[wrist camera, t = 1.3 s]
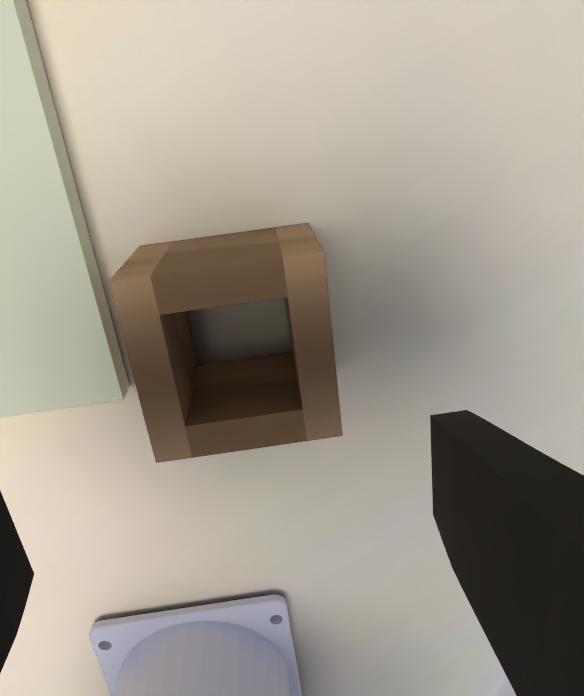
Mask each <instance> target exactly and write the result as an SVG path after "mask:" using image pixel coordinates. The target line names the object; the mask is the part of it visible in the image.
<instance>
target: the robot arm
mask: <svg viewBox="0 0 584 696" xmlns="http://www.w3.org/2000/svg"><path fill="white" fill-rule="evenodd" d="M430 420H431V456H432V491H433V515H434V518H435V521H436V524H437V527H438V529H439V532H440V535H441V538H442V541H443V544H444V546H445V549H446V552H447V554H448V557H449V560H450V563H451V565H452V568H453V570H454V572H455V574H456V576H457V578H458V580H459V582H460V585H461V587H462V589H463V591H464V593H465V595H466V597H467V599H468V601H469V603H470V605H471V607H472V609H473V611H474V613H475V615H476V616H477V618H478V620H479V622H480V624H481V626H482V628H483V630H484V632H485V634H486V636H487V638H488V640H489V642H490V644H491V646H492V648H493V650H494V652H495V654H496V656H497V658H498V660H499V662H500V664H501V666H502V668H503V670H504V672H505V674H506V676H507V678H508V679H509V681H510V683H511V685H512V687H513V689H514V691H515V693H516V695H517V696H584V476H583V475H581V474H580V473H578V472H576V471H574V470H572V469H570V468H569V467H567V466H565V465H563V464H561V463H559V462H558V461H556V460H554V459H552V458H550V457H549V456H547V455H545V454H543V453H542V452H540V451H538V450H536V449H535V448H533V447H531V446H529V445H528V444H526V443H524V442H523V441H521V440H519V439H517V438H516V437H514V436H512V435H510V434H509V433H507V432H505V431H504V430H502V429H500V428H498V427H497V426H495V425H493V424H492V423H490V422H488V421H486V420H485V419H483V418H481V417H479V416H477V415H475V414H474V413H472V412H470V411H468V410H464V411H457V412H450V413H443V414H436V415H430ZM33 576H34V572H33V570H32V567H31V565H30V562H29V560H28V558H27V555H26V553H25V550H24V548H23V545H22V543H21V540H20V538H19V535H18V533H17V531H16V528H15V526H14V523H13V521H12V518H11V516H10V513H9V511H8V508H7V506H6V503H5V501H4V499H3V496H2V494H1V491H0V673H1V670H2V668H3V666H4V663H5V661H6V659H7V656H8V654H9V652H10V649H11V647H12V644H13V642H14V640H15V637H16V635H17V632H18V628H19V625H20V622H21V619H22V615H23V612H24V609H25V606H26V602H27V598H28V594H29V591H30V587H31V583H32V580H33ZM274 615H279V616H274ZM89 636H90V640H91V643H92V645H93V648H94V651H95V653H96V656H97V659H98V661H99V664H100V667H101V669H102V672H103V675H104V677H105V680H106V683H107V685H108V688H109V690H110V693H111V696H302V691H301V685H300V679H299V673H298V667H297V662H296V656H295V650H294V644H293V638H292V632H291V627H290V621H289V615H288V609H287V603H286V600H285V598H283V597H282V596H280V595H267V596H260V597H254V598H247V599H240V600H234V601H227V602H220V603H214V604H207V605H201V606H194V607H187V608H181V609H174V610H167V611H161V612H154V613H147V614H141V615H134V616H127V617H121V618H114V619H108V620H101V621H98V622H96V623H94V624H93V625H92V627H91V630H90V634H89ZM105 641H108V642H105Z"/></svg>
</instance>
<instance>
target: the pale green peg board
mask: <svg viewBox="0 0 584 696" xmlns="http://www.w3.org/2000/svg"><path fill="white" fill-rule="evenodd" d="M128 388H129V382H128V378H127V375H126V371H125V367H124V363H123V360H122V356H121V352H120V349H119V345H118V341H117V337H116V334H115V330H114V326H113V322H112V319H111V315H110V311H109V307H108V304H107V300H106V296H105V292H104V289H103V285H102V281H101V278H100V274H99V270H98V266H97V263H96V259H95V255H94V251H93V248H92V244H91V240H90V236H89V233H88V229H87V225H86V222H85V218H84V214H83V210H82V207H81V203H80V199H79V195H78V192H77V188H76V184H75V180H74V177H73V173H72V169H71V165H70V162H69V158H68V154H67V151H66V147H65V143H64V139H63V136H62V132H61V128H60V124H59V121H58V117H57V113H56V109H55V106H54V102H53V98H52V94H51V91H50V87H49V83H48V80H47V76H46V72H45V68H44V65H43V61H42V57H41V53H40V50H39V46H38V42H37V38H36V35H35V31H34V27H33V24H32V20H31V16H30V12H29V9H28V5H27V1H26V0H0V417H7V416H14V415H21V414H28V413H35V412H42V411H49V410H56V409H63V408H70V407H77V406H84V405H91V404H98V403H105V402H112V401H119V400H123V399H124V397H125V395H126V393H127V391H128Z"/></svg>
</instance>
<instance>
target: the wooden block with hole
mask: <svg viewBox="0 0 584 696" xmlns="http://www.w3.org/2000/svg"><path fill="white" fill-rule="evenodd" d="M109 285H110V289H111V293H112V297H113V300H114V304H115V308H116V312H117V316H118V320H119V323H120V327H121V331H122V335H123V339H124V342H125V346H126V350H127V354H128V358H129V361H130V365H131V369H132V373H133V377H134V380H135V384H136V388H137V392H138V396H139V400H140V403H141V407H142V411H143V415H144V419H145V422H146V426H147V430H148V434H149V438H150V441H151V445H152V449H153V453H154V457H155V461H156V463H158V462H165V461H172V460H179V459H186V458H193V457H199V456H206V455H213V454H220V453H227V452H234V451H241V450H248V449H255V448H262V447H268V446H275V445H282V444H289V443H296V442H303V441H310V440H317V439H324V438H331V437H337V436H343V435H342V425H341V415H340V405H339V395H338V386H337V376H336V366H335V356H334V346H333V336H332V326H331V316H330V306H329V296H328V286H327V277H326V267H325V257H324V251H323V249H322V247H321V246H320V244H319V242H318V240H317V239H316V237H315V235H314V233H313V232H312V230H311V228H310V226H309V225H308V223H305V224H297V225H290V226H283V227H275V228H268V229H261V230H254V231H246V232H239V233H232V234H224V235H217V236H210V237H203V238H195V239H188V240H181V241H173V242H166V243H159V244H152V245H144V246H139V247H138V248H137V250H136V251H135V252H134V253H133V254H132V255H131V256H130V258H129V259H128V260H127V261H126V262H125V263H124V264H123V266H122V267H121V268H120V269H119V270H118V271H117V272H116V274H115V275H114V276H113V277H112V278H111V279H110V280H109ZM284 297H285V303H286V310H287V318H288V325H289V333H290V340H291V348H292V352H288V353H281V354H274V355H267V356H260V357H253V358H245V359H238V360H231V361H224V362H217V363H210V364H203V365H198V364H197V359H196V354H195V349H194V345H193V340H192V335H191V330H190V325H189V321H188V316H187V311H191V310H198V309H206V308H213V307H220V306H227V305H234V304H241V303H249V302H256V301H263V300H270V299H277V298H284Z"/></svg>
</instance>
